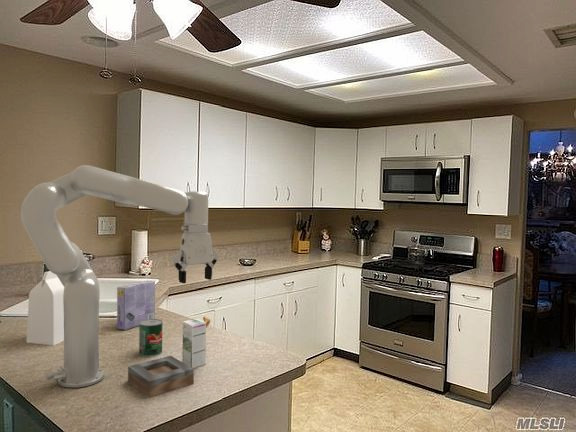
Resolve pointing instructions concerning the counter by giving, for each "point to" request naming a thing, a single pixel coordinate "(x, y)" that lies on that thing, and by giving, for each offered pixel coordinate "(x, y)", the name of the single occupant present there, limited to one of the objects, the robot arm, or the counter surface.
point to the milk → (46, 311)
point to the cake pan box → (135, 304)
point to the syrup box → (194, 343)
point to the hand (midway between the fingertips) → (195, 280)
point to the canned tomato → (150, 337)
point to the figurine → (206, 321)
